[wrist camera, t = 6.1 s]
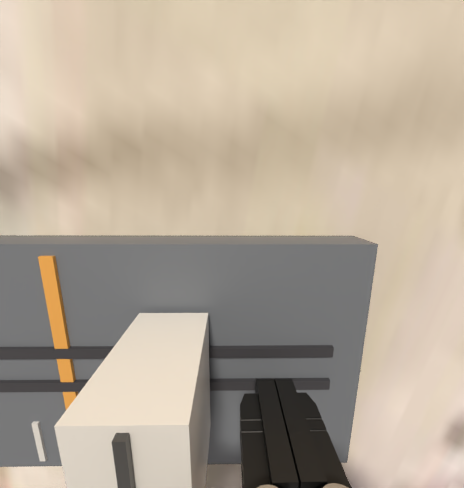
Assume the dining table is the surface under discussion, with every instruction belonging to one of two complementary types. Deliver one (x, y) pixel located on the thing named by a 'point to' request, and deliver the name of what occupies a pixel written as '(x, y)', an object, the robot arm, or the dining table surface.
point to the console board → (180, 301)
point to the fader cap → (143, 410)
